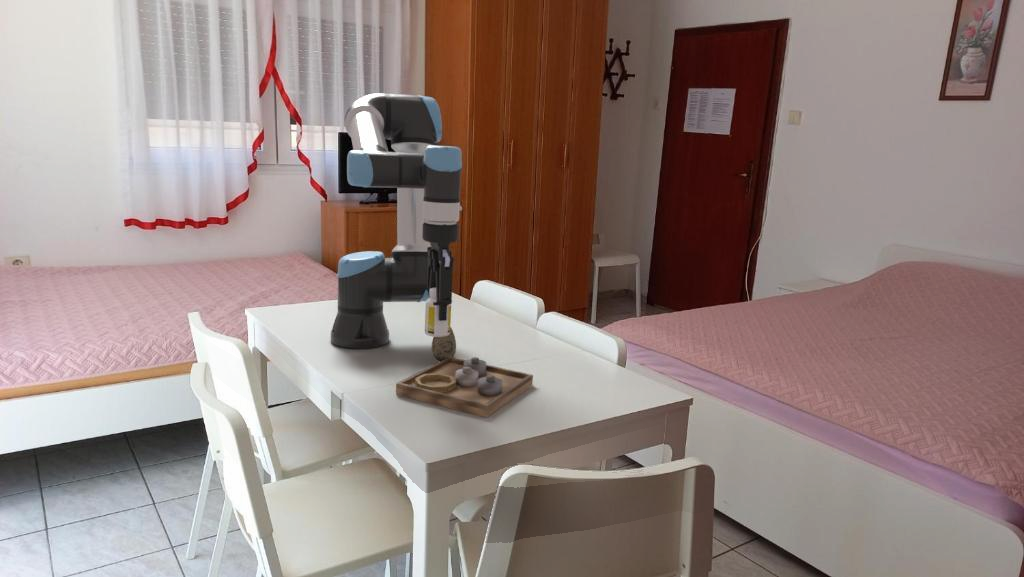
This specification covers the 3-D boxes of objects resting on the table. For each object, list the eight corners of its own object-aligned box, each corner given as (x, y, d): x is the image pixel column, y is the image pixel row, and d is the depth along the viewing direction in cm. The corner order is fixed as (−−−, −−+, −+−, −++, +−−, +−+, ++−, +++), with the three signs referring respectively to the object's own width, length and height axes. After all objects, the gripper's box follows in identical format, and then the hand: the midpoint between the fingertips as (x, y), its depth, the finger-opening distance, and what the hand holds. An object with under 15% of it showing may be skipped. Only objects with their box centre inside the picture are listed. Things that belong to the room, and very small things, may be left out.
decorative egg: (460, 362, 173) (462, 323, 171) (444, 367, 168) (446, 327, 166) (441, 356, 176) (443, 318, 174) (426, 362, 172) (427, 322, 169)
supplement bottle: (454, 336, 149) (456, 291, 147) (431, 338, 146) (433, 293, 144) (442, 329, 153) (444, 285, 151) (420, 332, 150) (421, 287, 148)
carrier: (396, 394, 150) (396, 372, 149) (449, 366, 169) (450, 346, 168) (486, 417, 141) (487, 393, 140) (532, 385, 160) (533, 364, 159)
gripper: (470, 228, 137) (465, 342, 142) (448, 216, 154) (444, 318, 159) (432, 228, 135) (429, 343, 140) (414, 216, 152) (411, 319, 157)
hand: (437, 330), depth 150 cm, fingers closed on supplement bottle, 5 cm apart
